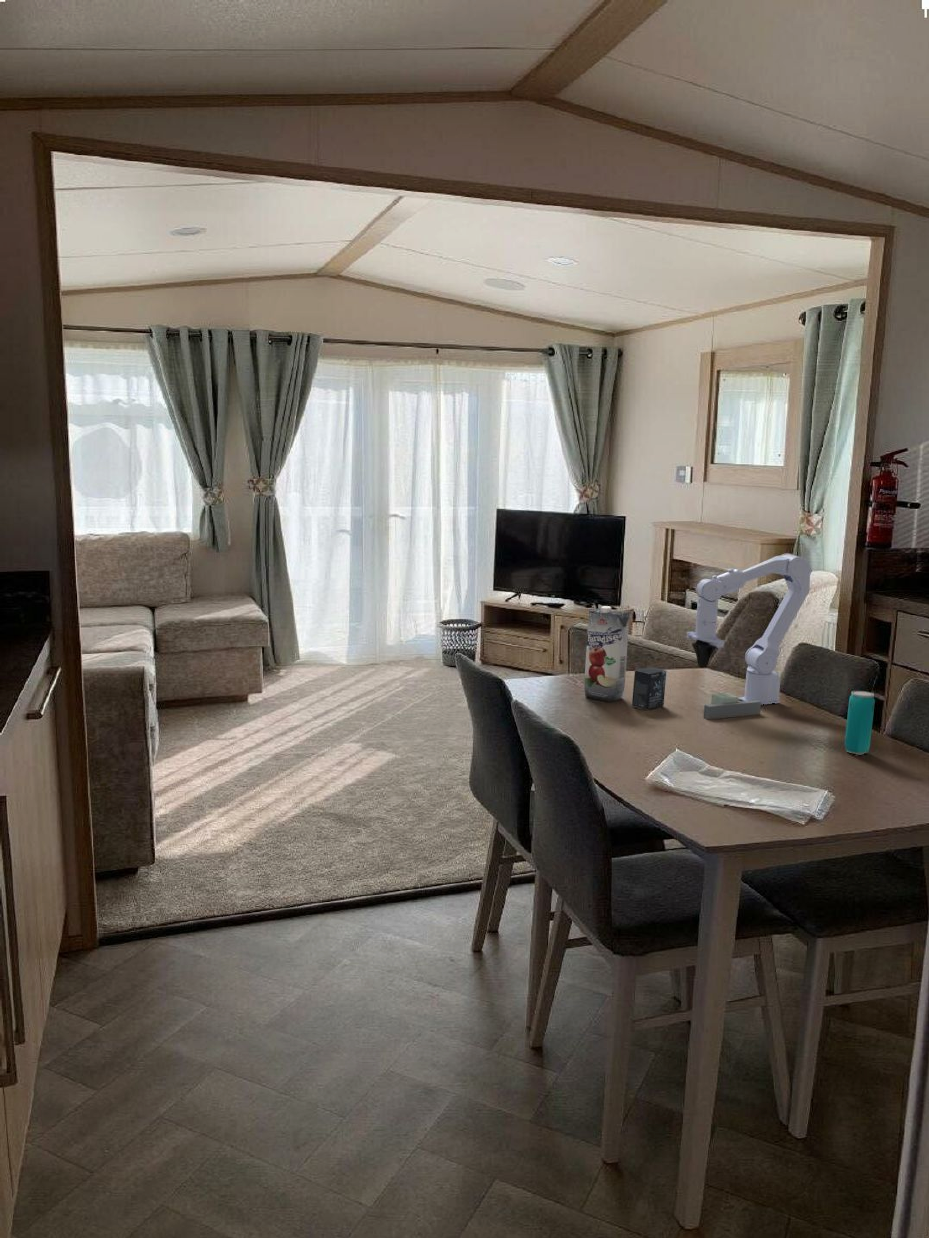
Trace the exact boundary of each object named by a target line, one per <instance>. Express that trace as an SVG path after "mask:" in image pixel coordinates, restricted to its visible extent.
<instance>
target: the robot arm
mask: <svg viewBox="0 0 929 1238" xmlns="http://www.w3.org/2000/svg"><path fill="white" fill-rule="evenodd" d="M726 571H727V572H723V573H721V574H719V575H716V574H714V575H712V576H711V579H710V578H703V579H701V580H700V581H699V582H698V584H697V586H696V587H695V593H696V595H697V608H696V617H695V631H686V636H685V637H686V639H688V640H689V639H691V640H694V641H695V642H692V644H691V646H692V647H693V649H694V652H695V657H696V662H697V668H699V669H707V667H708V664H709V662H710V659H711V657H712V655H713V653H714V651H715V650H716V649H717V648H719V649H720V648H724V647H725V640H724V639H721V638H719V637H717V636H716V633H717V621H718V620H717V619H718V609H719V608H718V606H719V599H721V597H722V596H725V595H727V594H729V593H732V592H735V591H737V590H740V589H742V588H744V587H745V585H746V583H747V582H749V581H752V580H757V579H759V578H762V577H766V576H768V575H770V574H777V575H781V576H782V577H783V578H784V580H785V583H786V587H787V589H788V590H787V592H786V593H785V595H784V596H783V599H782V601H781V602H780V604H779V606H778V608H777V609H776V612H775V613H774V614H773V616H772V618H771V620H770V622H769V624H768V626H767V628H766V629H765V631H764V632H763V635H762V636H760V638H758V639H756V640H755V642H754V643H753V645H752V646H751V647H749V648H748V649H747V650H746V652H745V654H744V661H745V663H746V664H747V668H746V673H745V674H746V677H745V686H744V696H737V697H738V700H740V701H752V700H757V701H760V702H761V706H763V704H764V705H773V704H772V703H775V704H780V703H781V700H779V698H780V690H781V687H780V686H781V678H780V676H779V674H778V673H777V672H776V671H775V670H776V668H777V665H778V658H779V655H780V653H781V650H780V645H781V642H783V639H784V638H785V636H786V635H787V633H788V631H789V629H790V627H791V625H792V623H793V622H794V620H795V618H796V616H797V615H798V613H799V611H800V609H801V607H802V606H803V604H804V602H805V600H806V598H807V597H808V594H809V593H810V588H811V587H810V586H811V574H812V572H813V569H812V567H811V565H810V562H809V560H808V559H807V558H806V557H804V556H798V555H795V554H792V553H783V554H781V555H776V556H773V557H771V558H769V559H766V560H765V561H762V562H760V563H758V564H755V565H753V566H750V567H749V568H746V569H744V570H739V569H737V568H735V569H734V568H728V569H726Z"/></svg>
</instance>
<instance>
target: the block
mask: <svg viewBox="0 0 929 1238" xmlns="http://www.w3.org/2000/svg"><path fill="white" fill-rule="evenodd" d="M738 697H739V696H737V695H733V694H731V693H728V692H721V693H717V692H716V693H712V694H711V703H710V704H719V703H730V702H739V699H738Z"/></svg>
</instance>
